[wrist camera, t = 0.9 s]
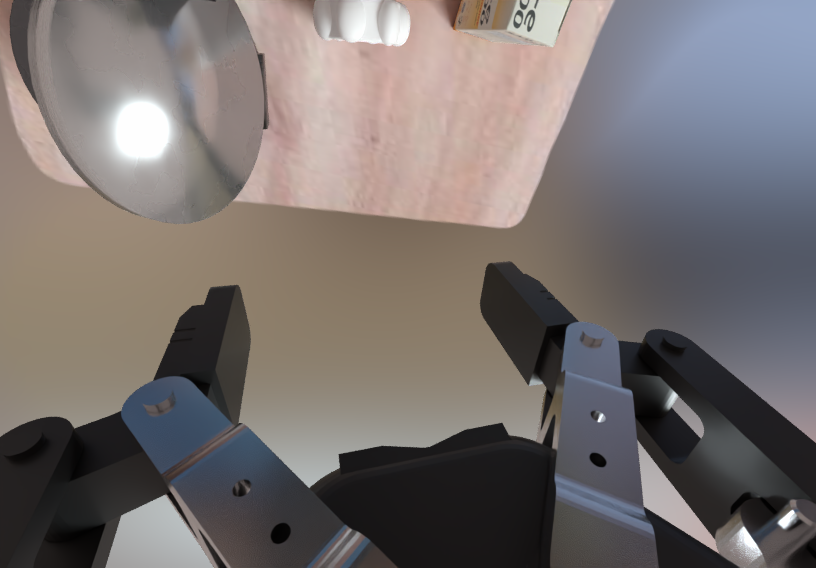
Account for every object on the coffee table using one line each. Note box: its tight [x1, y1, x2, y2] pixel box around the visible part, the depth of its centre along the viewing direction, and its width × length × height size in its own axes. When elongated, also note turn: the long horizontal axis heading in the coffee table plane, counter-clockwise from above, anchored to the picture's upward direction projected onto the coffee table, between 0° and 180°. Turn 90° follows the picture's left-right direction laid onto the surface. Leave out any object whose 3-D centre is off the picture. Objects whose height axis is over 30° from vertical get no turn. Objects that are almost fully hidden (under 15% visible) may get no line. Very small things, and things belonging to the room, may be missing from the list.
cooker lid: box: [27, 0, 268, 224], centre depth 21 cm, size 20×15×3 cm
